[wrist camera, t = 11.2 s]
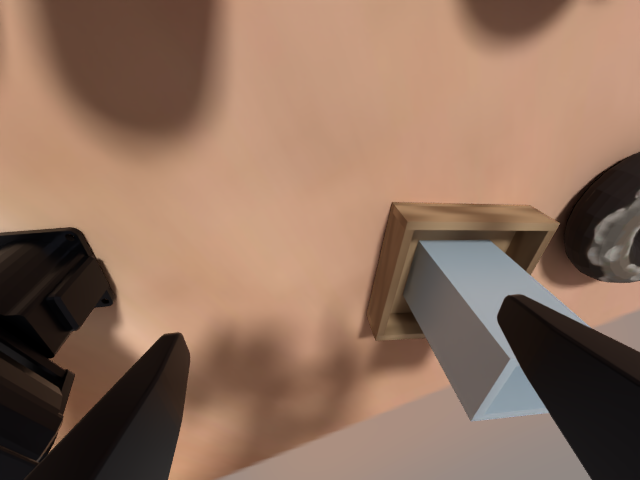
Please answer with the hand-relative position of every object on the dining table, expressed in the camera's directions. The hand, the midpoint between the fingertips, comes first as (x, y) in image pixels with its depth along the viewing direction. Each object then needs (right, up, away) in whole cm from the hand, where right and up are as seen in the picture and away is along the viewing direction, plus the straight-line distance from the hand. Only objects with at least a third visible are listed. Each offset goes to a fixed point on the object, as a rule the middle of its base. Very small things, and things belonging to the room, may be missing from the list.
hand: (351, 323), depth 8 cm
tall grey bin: (+9, 0, +16) cm, 19 cm away
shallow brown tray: (+9, 0, +17) cm, 19 cm away
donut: (+24, +5, +17) cm, 30 cm away
